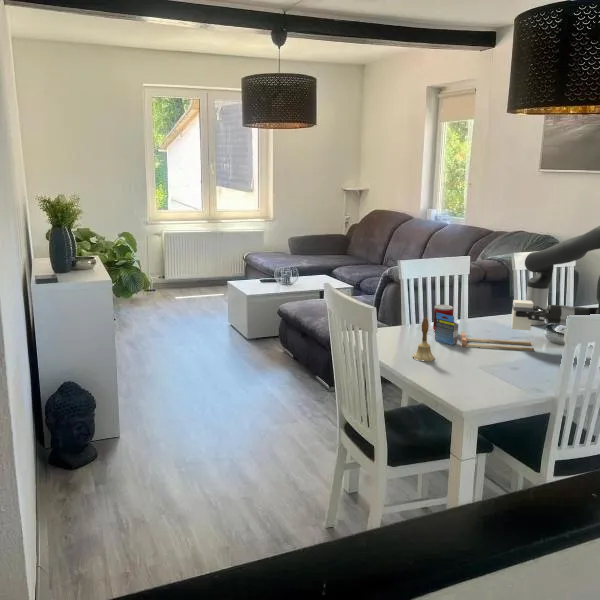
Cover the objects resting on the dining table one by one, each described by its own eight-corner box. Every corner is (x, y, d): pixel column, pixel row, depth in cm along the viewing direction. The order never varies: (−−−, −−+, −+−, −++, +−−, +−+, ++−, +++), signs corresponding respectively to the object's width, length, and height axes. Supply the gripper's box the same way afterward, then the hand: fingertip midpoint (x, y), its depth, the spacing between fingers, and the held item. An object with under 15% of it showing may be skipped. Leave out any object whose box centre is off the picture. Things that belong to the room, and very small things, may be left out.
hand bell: (427, 363, 224) (429, 322, 220) (408, 358, 229) (410, 317, 225) (438, 358, 230) (441, 317, 226) (420, 352, 235) (422, 313, 231)
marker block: (510, 325, 244) (513, 299, 242) (528, 326, 243) (531, 300, 240) (511, 329, 240) (514, 302, 237) (530, 330, 239) (533, 303, 236)
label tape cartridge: (457, 343, 247) (459, 314, 244) (452, 345, 244) (454, 316, 241) (439, 338, 253) (441, 310, 250) (434, 340, 250) (435, 312, 247)
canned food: (455, 332, 262) (456, 308, 259) (439, 334, 259) (441, 309, 256) (444, 327, 269) (446, 303, 266) (429, 329, 266) (431, 305, 263)
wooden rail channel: (460, 339, 253) (460, 332, 252) (529, 343, 247) (530, 336, 247) (461, 347, 242) (462, 340, 242) (534, 352, 237) (535, 344, 236)
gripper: (557, 301, 243) (513, 298, 246) (565, 310, 229) (518, 307, 233) (555, 318, 245) (511, 315, 248) (562, 329, 231) (516, 326, 235)
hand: (515, 312), depth 240 cm, fingers closed on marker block, 4 cm apart
